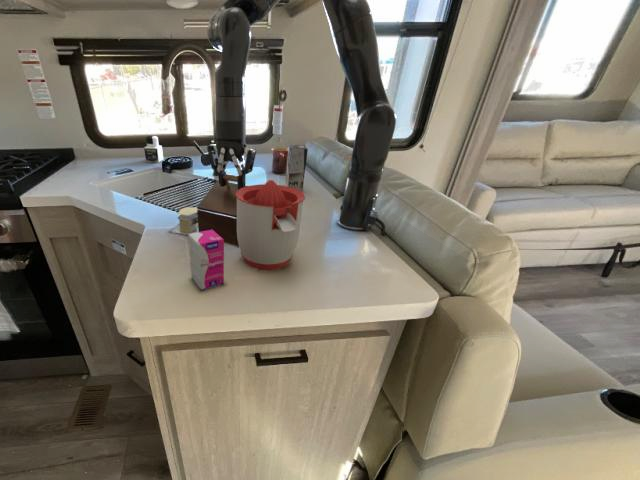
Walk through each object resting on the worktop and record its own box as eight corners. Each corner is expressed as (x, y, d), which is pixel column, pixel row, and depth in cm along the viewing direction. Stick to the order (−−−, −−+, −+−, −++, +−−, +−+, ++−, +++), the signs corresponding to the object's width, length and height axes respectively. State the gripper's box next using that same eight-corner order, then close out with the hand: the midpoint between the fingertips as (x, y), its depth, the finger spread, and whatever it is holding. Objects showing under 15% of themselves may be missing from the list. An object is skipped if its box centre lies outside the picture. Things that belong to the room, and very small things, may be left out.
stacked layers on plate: (196, 236, 94) (194, 218, 91) (169, 231, 97) (167, 214, 93) (211, 224, 101) (210, 207, 98) (186, 220, 104) (184, 203, 101)
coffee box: (303, 192, 130) (308, 148, 120) (287, 192, 130) (291, 148, 120) (300, 186, 137) (304, 144, 128) (284, 185, 137) (288, 144, 128)
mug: (269, 169, 160) (270, 147, 154) (287, 169, 160) (289, 147, 154) (271, 176, 150) (272, 152, 144) (289, 176, 150) (292, 152, 144)
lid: (218, 182, 95) (213, 167, 91) (260, 190, 90) (258, 174, 85) (197, 209, 90) (191, 193, 86) (241, 218, 85) (237, 203, 80)
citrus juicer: (254, 285, 73) (258, 196, 61) (226, 252, 86) (225, 174, 74) (312, 272, 78) (326, 188, 66) (277, 243, 91) (284, 168, 79)
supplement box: (201, 292, 70) (198, 244, 64) (191, 279, 75) (186, 233, 68) (225, 285, 73) (224, 238, 66) (213, 273, 77) (211, 228, 70)
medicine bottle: (146, 162, 170) (142, 137, 163) (151, 159, 176) (147, 134, 169) (158, 162, 169) (155, 137, 162) (163, 159, 175) (160, 135, 168)
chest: (219, 223, 103) (218, 198, 98) (258, 232, 97) (259, 207, 92) (198, 235, 95) (197, 209, 90) (240, 246, 89) (240, 219, 85)
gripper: (263, 117, 79) (261, 187, 89) (214, 114, 85) (217, 180, 95) (248, 121, 74) (247, 195, 84) (197, 117, 80) (202, 187, 90)
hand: (231, 187), depth 89 cm, fingers closed on lid, 5 cm apart
